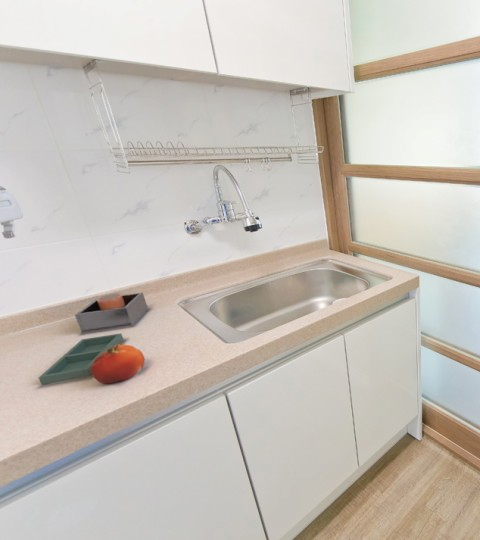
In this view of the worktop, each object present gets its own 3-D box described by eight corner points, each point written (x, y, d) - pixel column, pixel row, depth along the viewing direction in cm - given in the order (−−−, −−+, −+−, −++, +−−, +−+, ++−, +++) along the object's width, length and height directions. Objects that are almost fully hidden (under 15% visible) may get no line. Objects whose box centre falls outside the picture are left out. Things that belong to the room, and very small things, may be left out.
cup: (101, 325, 102) (92, 302, 99) (111, 317, 107) (102, 294, 104) (124, 322, 104) (116, 299, 101) (132, 314, 109) (125, 291, 106)
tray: (42, 386, 76) (38, 377, 75) (85, 347, 91) (81, 339, 90) (91, 378, 78) (87, 369, 77) (124, 341, 94) (121, 333, 93)
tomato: (153, 361, 84) (144, 334, 81) (140, 384, 76) (129, 354, 73) (108, 370, 81) (97, 342, 78) (90, 394, 73) (76, 364, 70)
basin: (82, 334, 98) (74, 314, 96) (104, 316, 109) (97, 298, 107) (132, 327, 102) (126, 307, 99) (148, 309, 113) (142, 292, 111)
